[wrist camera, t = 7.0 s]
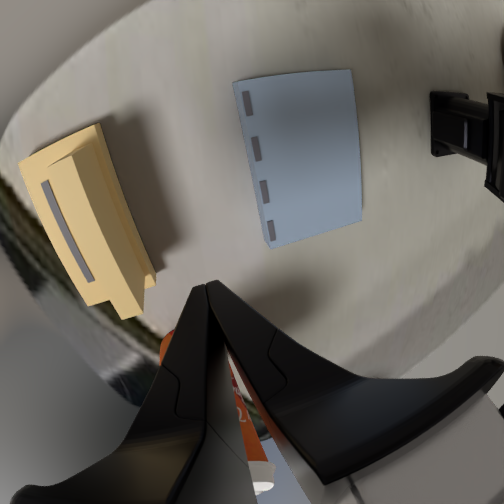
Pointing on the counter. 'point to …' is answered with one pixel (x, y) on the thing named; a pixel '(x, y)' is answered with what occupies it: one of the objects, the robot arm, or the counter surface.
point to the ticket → (302, 152)
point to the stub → (90, 220)
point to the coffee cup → (245, 437)
